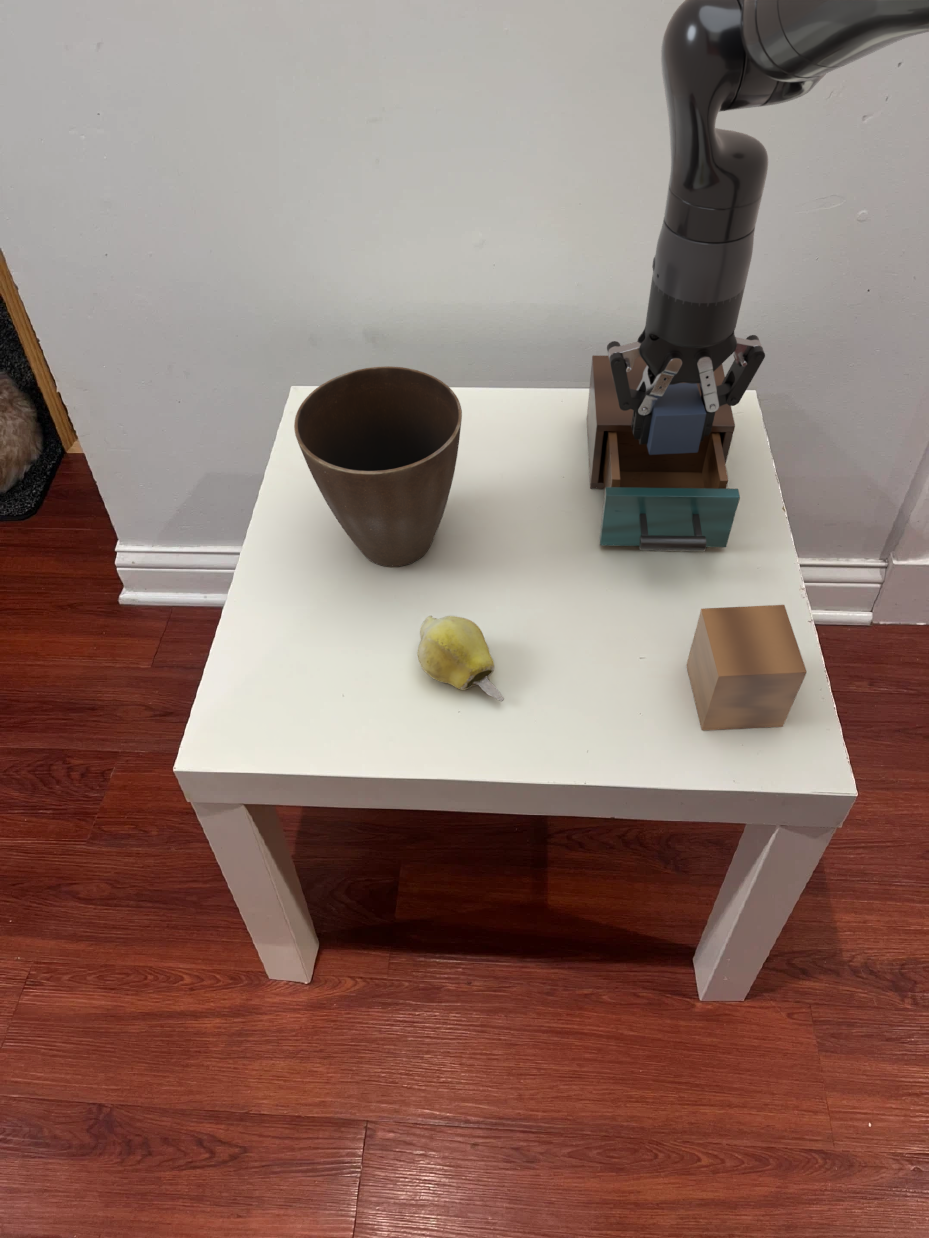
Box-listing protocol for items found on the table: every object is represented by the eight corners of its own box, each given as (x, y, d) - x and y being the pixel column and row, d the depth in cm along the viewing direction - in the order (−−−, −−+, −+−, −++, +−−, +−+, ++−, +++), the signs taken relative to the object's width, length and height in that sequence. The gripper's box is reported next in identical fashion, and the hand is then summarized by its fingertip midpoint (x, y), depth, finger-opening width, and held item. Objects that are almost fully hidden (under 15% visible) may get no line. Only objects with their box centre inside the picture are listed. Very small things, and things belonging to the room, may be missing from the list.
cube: (763, 661, 83) (784, 604, 77) (783, 726, 79) (807, 672, 73) (686, 664, 84) (701, 608, 77) (701, 730, 79) (718, 676, 73)
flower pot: (325, 606, 89) (296, 483, 77) (317, 500, 99) (291, 375, 86) (477, 585, 90) (474, 461, 78) (455, 483, 100) (449, 357, 87)
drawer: (731, 580, 89) (746, 530, 83) (601, 577, 89) (608, 528, 84) (713, 475, 98) (725, 424, 93) (595, 474, 98) (601, 423, 93)
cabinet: (719, 490, 98) (735, 426, 91) (590, 488, 98) (596, 424, 92) (706, 420, 105) (720, 355, 98) (586, 419, 106) (592, 355, 99)
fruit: (479, 729, 80) (393, 662, 83) (517, 696, 84) (434, 633, 87) (498, 685, 76) (408, 616, 79) (537, 653, 80) (450, 588, 83)
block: (688, 421, 90) (696, 382, 86) (697, 452, 87) (706, 413, 83) (641, 423, 90) (647, 384, 86) (649, 455, 87) (655, 416, 83)
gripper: (618, 304, 73) (599, 467, 86) (799, 295, 73) (753, 460, 86) (605, 254, 78) (589, 416, 91) (775, 246, 78) (735, 409, 91)
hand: (669, 437), depth 88 cm, fingers closed on block, 4 cm apart
